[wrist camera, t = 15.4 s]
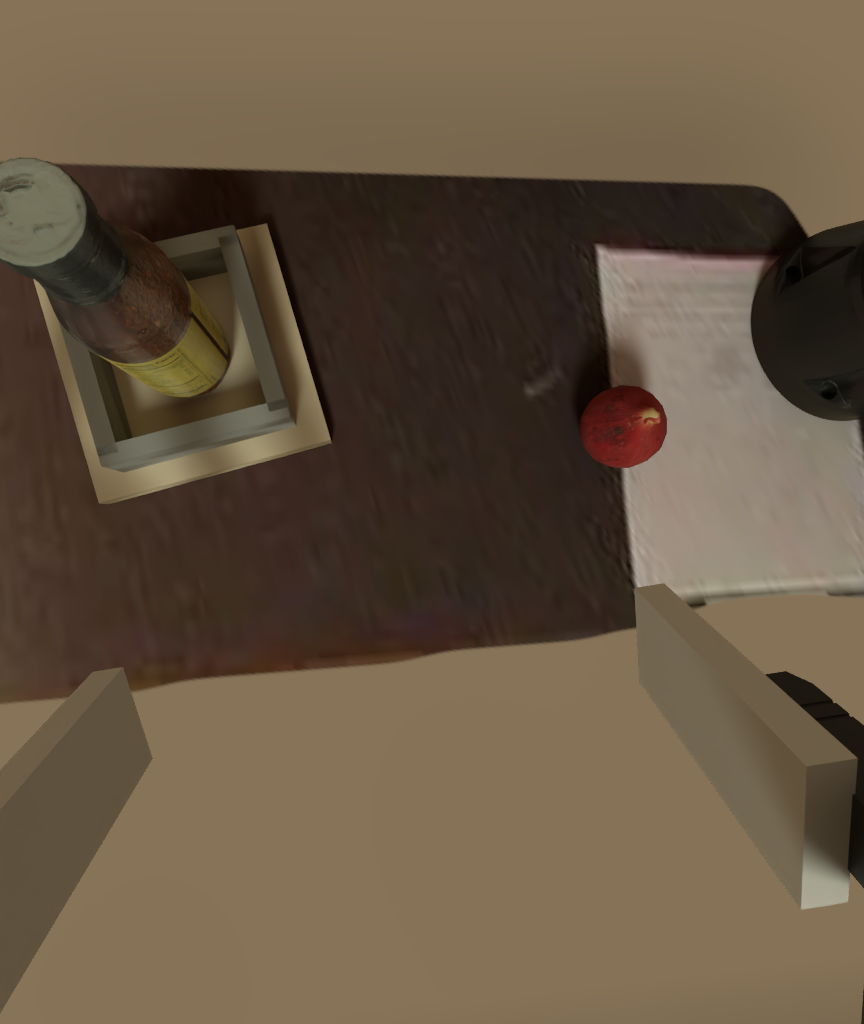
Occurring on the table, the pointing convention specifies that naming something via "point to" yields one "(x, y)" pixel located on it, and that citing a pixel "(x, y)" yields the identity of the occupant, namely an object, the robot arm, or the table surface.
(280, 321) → the bottle holder
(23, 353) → the table surface
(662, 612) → the robot arm
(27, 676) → the table surface
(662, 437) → the onion
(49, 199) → the sauce bottle
